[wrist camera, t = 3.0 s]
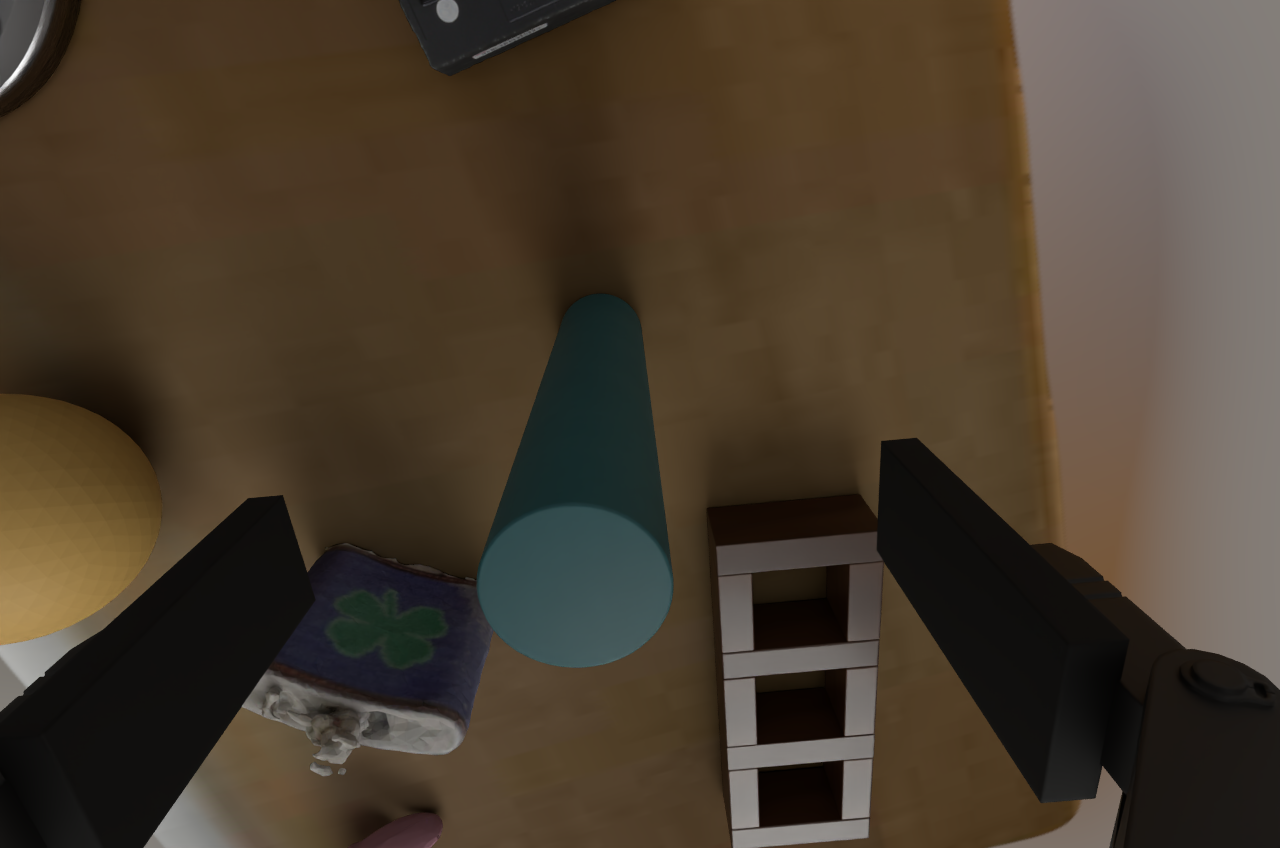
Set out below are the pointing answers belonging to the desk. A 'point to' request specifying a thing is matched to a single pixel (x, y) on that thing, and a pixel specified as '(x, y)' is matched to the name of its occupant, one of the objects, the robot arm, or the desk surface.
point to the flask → (379, 659)
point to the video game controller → (405, 833)
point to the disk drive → (484, 26)
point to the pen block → (796, 669)
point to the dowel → (583, 504)
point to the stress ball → (68, 514)
